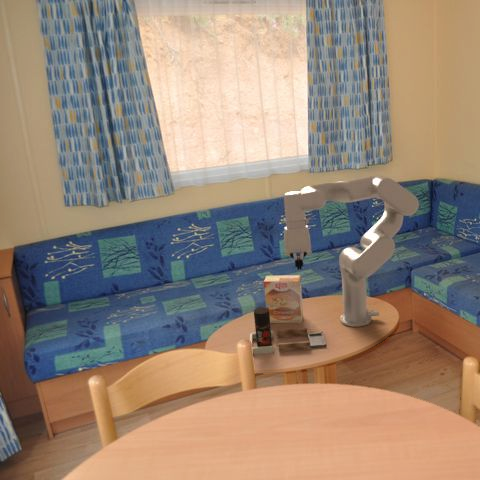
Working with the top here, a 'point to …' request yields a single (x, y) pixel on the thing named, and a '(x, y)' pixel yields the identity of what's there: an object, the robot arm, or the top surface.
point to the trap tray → (316, 340)
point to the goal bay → (261, 349)
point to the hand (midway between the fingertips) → (299, 268)
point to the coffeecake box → (284, 298)
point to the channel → (293, 345)
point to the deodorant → (262, 327)
